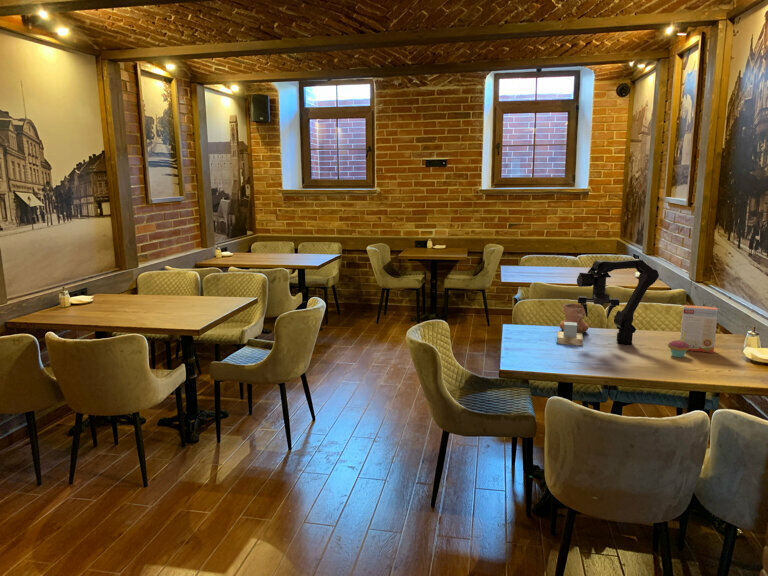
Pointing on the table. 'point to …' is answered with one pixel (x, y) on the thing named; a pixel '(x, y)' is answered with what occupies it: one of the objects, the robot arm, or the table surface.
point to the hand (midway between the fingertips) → (596, 318)
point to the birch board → (569, 339)
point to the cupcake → (678, 347)
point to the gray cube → (570, 329)
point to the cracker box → (699, 327)
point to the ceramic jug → (575, 316)
